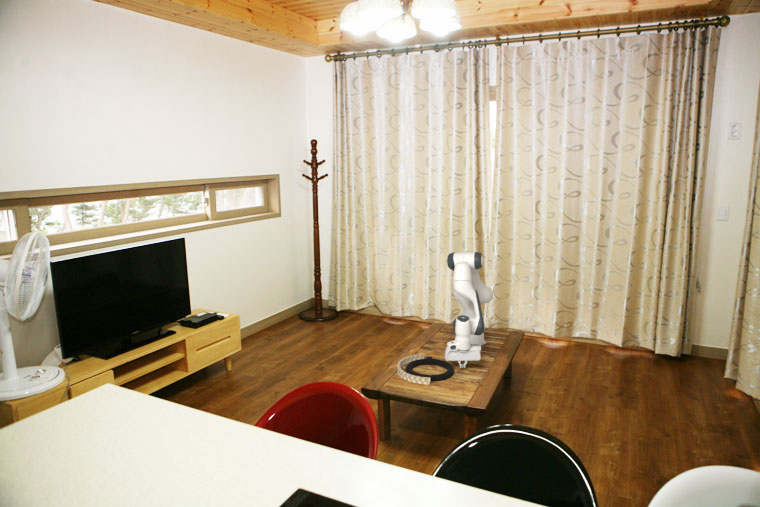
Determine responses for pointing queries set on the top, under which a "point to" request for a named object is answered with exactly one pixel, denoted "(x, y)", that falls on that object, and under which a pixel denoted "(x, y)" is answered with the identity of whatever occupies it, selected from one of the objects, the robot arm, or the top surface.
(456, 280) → the robot arm
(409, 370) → the cable lock
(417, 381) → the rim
